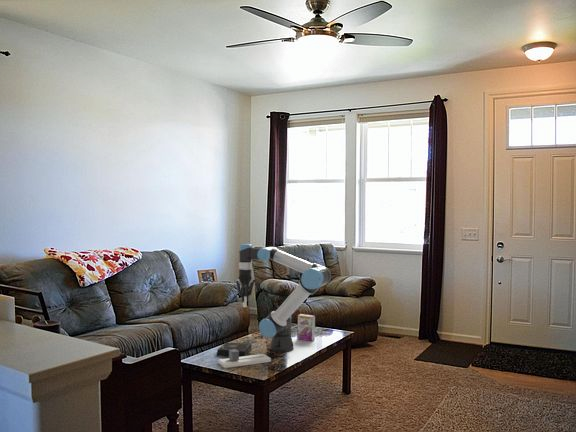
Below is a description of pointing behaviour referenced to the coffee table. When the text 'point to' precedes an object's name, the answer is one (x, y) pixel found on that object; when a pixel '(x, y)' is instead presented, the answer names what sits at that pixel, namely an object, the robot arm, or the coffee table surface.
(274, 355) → the coffee table surface
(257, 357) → the board
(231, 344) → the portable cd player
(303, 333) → the candy bar box
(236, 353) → the fader knob
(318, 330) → the coffee table surface
